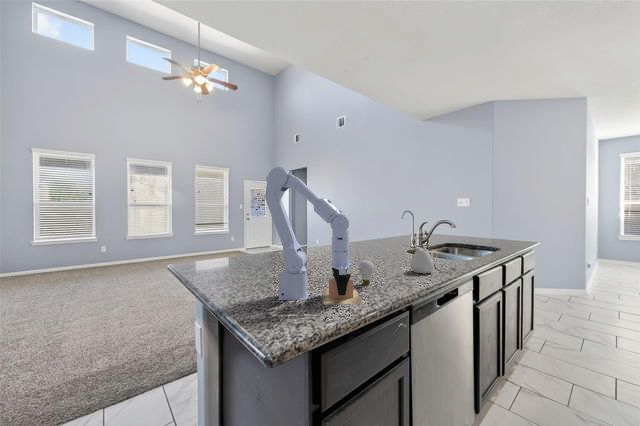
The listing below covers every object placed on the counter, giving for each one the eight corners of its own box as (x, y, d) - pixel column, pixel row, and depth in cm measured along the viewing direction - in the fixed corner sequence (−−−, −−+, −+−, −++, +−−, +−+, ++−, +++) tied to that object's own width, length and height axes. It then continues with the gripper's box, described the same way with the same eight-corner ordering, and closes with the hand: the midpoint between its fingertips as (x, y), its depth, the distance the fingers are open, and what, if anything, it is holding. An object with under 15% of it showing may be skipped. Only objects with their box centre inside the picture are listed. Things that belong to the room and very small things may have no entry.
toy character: (433, 270, 129) (433, 245, 129) (434, 275, 120) (433, 248, 120) (411, 269, 133) (411, 245, 133) (409, 273, 124) (409, 247, 123)
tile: (329, 298, 88) (328, 279, 88) (328, 296, 90) (328, 278, 90) (353, 297, 88) (353, 279, 88) (352, 295, 90) (352, 278, 90)
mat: (323, 306, 82) (323, 304, 82) (322, 289, 100) (322, 287, 100) (362, 306, 82) (362, 304, 82) (354, 289, 100) (354, 287, 100)
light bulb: (374, 288, 101) (373, 261, 101) (358, 287, 102) (357, 261, 102) (374, 284, 107) (373, 259, 107) (359, 283, 108) (358, 258, 108)
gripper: (355, 254, 82) (355, 298, 82) (350, 247, 97) (350, 285, 97) (332, 254, 82) (332, 298, 82) (330, 247, 97) (330, 285, 97)
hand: (340, 291), depth 89 cm, fingers open, 7 cm apart
